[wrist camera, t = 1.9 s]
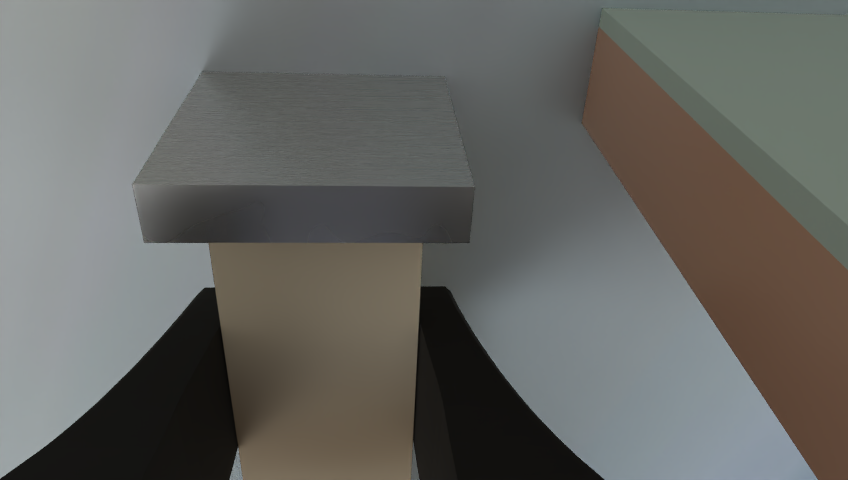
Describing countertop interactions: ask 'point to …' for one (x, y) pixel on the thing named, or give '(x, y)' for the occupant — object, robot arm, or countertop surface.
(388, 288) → the capped square post
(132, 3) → the countertop surface
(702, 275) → the tile
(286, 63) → the countertop surface
